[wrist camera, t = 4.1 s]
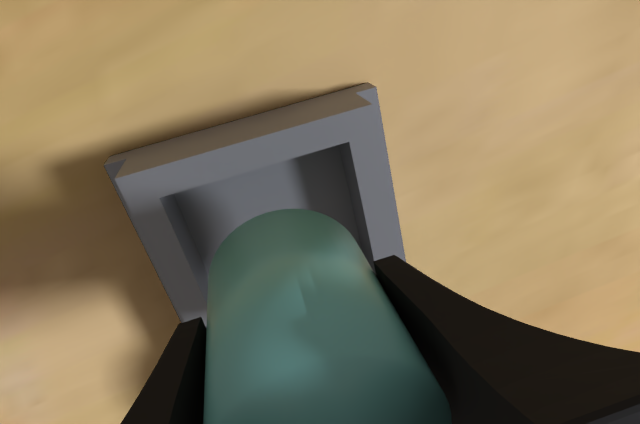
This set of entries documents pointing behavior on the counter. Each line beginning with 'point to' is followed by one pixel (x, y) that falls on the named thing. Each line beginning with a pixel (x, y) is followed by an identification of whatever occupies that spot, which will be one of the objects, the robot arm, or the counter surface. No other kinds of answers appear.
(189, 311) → the housing
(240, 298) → the teal cylinder
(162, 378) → the robot arm
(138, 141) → the counter surface
